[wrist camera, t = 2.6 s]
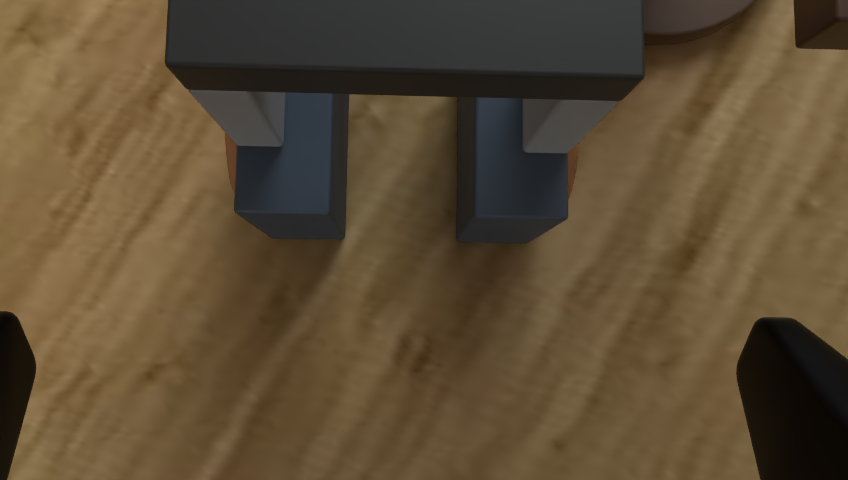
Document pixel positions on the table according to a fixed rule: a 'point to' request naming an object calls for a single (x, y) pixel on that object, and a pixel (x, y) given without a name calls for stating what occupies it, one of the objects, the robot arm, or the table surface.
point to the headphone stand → (722, 3)
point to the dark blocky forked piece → (409, 76)
